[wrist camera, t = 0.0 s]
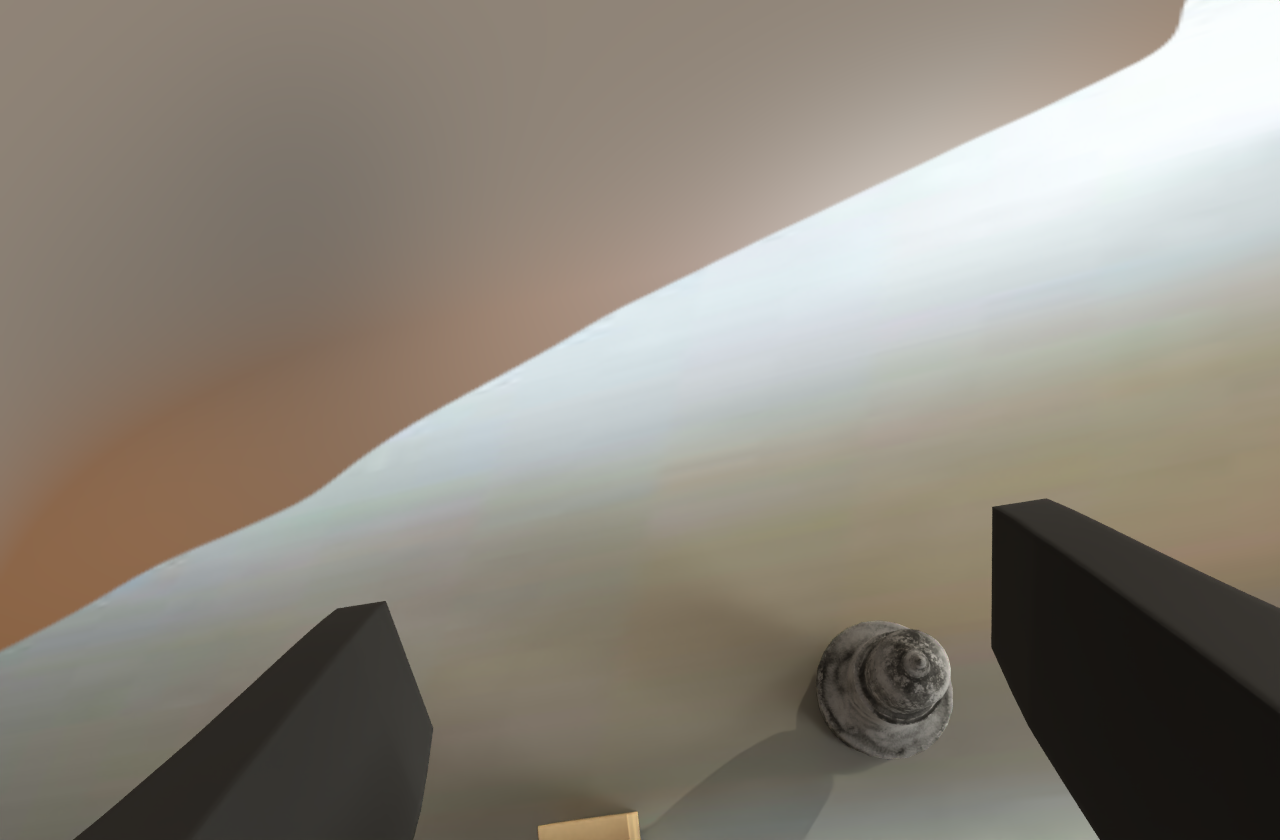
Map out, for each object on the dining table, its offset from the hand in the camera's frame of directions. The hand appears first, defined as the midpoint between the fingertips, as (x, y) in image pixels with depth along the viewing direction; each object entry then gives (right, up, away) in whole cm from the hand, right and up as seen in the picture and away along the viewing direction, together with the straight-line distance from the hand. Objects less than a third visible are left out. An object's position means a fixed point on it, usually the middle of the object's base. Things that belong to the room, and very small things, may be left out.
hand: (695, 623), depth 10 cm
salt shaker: (+11, -11, +29) cm, 33 cm away
